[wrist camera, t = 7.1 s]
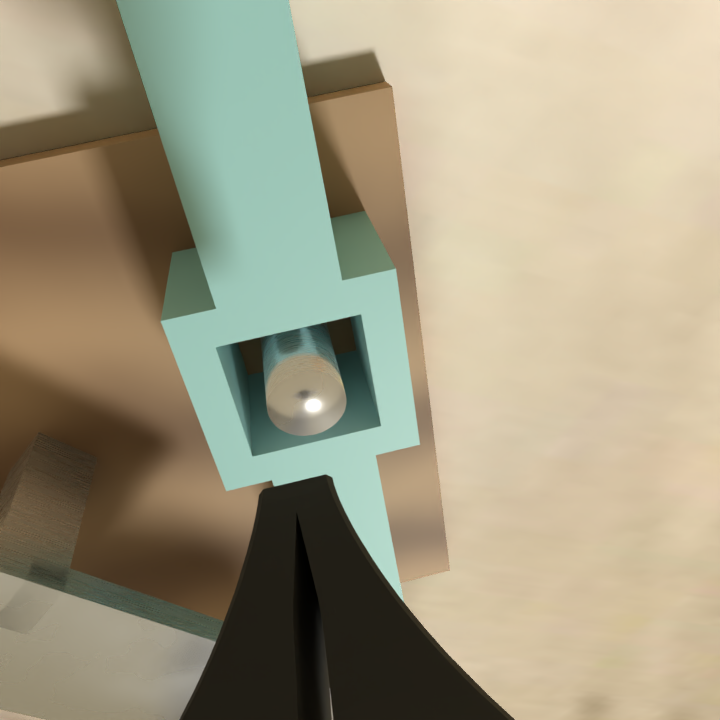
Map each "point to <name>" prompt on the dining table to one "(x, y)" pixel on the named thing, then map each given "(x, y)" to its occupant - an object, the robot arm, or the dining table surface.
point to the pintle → (302, 380)
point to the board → (156, 360)
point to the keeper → (82, 610)
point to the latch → (268, 254)
